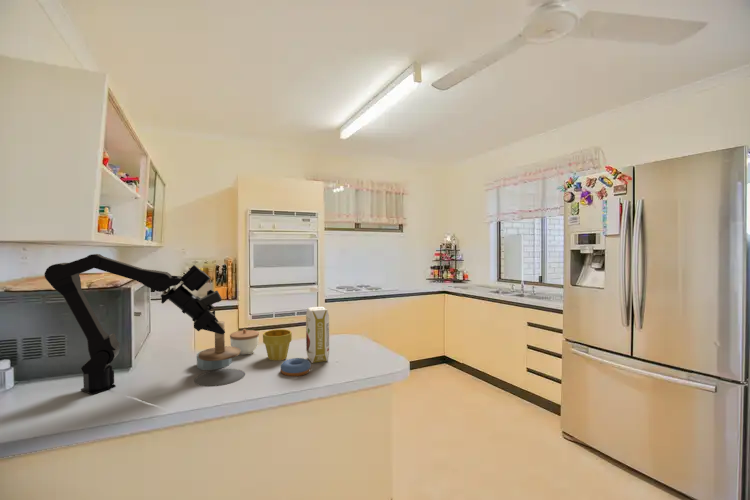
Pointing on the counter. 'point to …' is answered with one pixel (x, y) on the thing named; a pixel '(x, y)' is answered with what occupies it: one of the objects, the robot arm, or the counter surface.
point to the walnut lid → (219, 349)
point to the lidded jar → (245, 340)
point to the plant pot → (277, 343)
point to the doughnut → (295, 367)
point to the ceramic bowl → (212, 364)
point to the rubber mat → (219, 377)
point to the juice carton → (317, 334)
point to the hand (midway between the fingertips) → (224, 332)
